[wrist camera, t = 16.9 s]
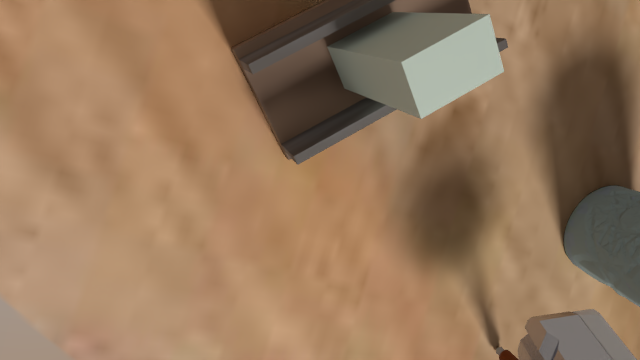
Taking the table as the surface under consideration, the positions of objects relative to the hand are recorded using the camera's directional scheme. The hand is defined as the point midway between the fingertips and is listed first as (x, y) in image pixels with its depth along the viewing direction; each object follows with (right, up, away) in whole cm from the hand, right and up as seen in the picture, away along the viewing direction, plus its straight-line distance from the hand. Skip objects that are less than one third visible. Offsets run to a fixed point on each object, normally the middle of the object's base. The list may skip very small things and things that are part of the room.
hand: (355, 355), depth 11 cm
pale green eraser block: (+2, +12, +21) cm, 25 cm away
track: (+2, +13, +22) cm, 26 cm away
